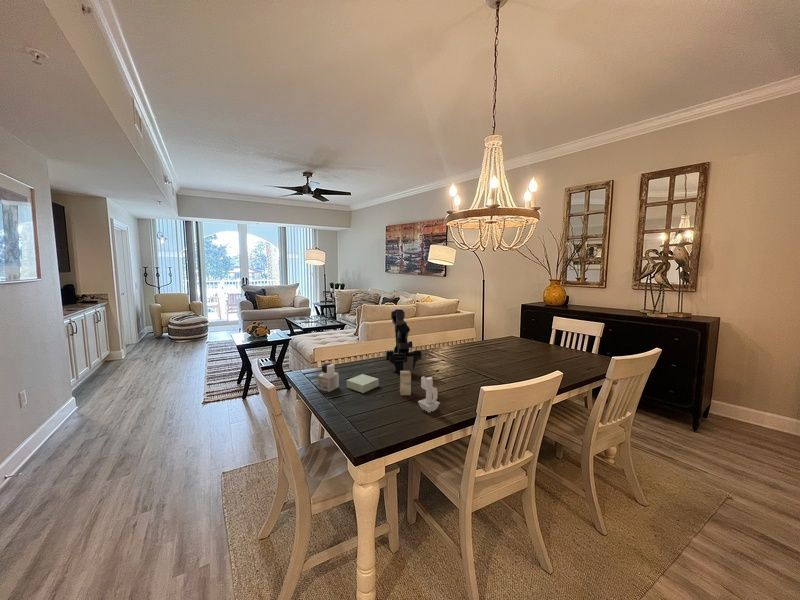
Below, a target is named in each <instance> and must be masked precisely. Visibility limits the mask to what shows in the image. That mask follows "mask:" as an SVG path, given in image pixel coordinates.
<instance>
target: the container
mask: <svg viewBox="0 0 800 600" xmlns="http://www.w3.org/2000/svg"><path fill="white" fill-rule="evenodd" d="M335 367H336V366H335V364H334V363H331V362H328V363H327V362H326V363H323V364H322V365H321V373H320V374H318V375H317V388H318V390H320V391H324V392H329V393H331V391H334V390H336V389H338V388H339V387H340V385H339V383H340V382H339V381H340V379H339V377H340V375H339V372H335V369H336V368H335Z"/></svg>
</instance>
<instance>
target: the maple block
mask: <svg viewBox="0 0 800 600" xmlns="http://www.w3.org/2000/svg"><path fill="white" fill-rule="evenodd" d="M399 374H400V375H399V393H400V396H412V372H411V370H406V371H400V373H399Z"/></svg>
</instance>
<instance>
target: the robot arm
mask: <svg viewBox="0 0 800 600" xmlns="http://www.w3.org/2000/svg"><path fill="white" fill-rule="evenodd" d="M405 314H406V313H405V311H404V310H403V309H400V308H399V309H394V310H393V311H391V313H390V320H391V321H392V324H393V325H394V334H395V335H394V336H395V346H394V347H393V348H394V349H393V350H387V351H385V360H386V361H387V362H389V363H391V364H392V367H393V368H394V369H393V370H392V373H398V374H400V371H407V369H406V368H405V363H407V362H408V358H409V357H410V358H411V357H412V370H413V371H414V370H415V365H416V363H417V362H419V360H421V359H422V350H413V351H412V352H410V349H412V348H413V341H412V340H411V341H408V338H409V333H410V331H411V328H410V327H409V326H408V324H407V323H408V322H406V321H405V317H406V315H405Z"/></svg>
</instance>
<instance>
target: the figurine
mask: <svg viewBox="0 0 800 600" xmlns="http://www.w3.org/2000/svg"><path fill="white" fill-rule="evenodd" d="M420 383H421V384H420V386H421V389H423V390H425V398H423V399H420V400H418V401H417V403H418V405H419V406H420V408H421V410H422V409H423V410H422V411H424V410H425V411H424V412H426V411H427V412H426V413H429V414H430V413H432V412H434V411H436V410H437V409H438V407H439V405H441V402H440V401H439V400H438V394H439V393H438V388H437V387H435V386H433V385H434V380H433V377H432V376H429V377H426V376H421V378H420ZM437 400H438V401H437ZM431 411H432V412H431Z"/></svg>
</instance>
